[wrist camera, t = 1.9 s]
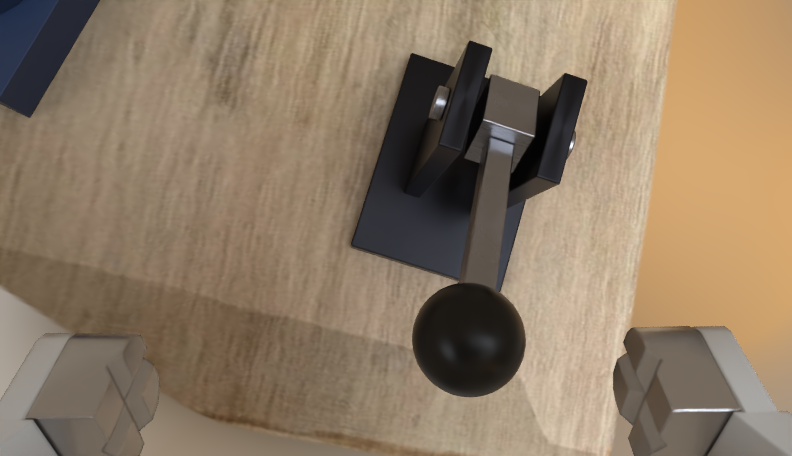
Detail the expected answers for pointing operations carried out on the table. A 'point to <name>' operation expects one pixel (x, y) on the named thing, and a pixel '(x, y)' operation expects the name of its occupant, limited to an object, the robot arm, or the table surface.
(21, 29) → the stop box
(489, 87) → the lever
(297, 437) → the table surface
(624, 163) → the table surface
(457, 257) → the switch bracket
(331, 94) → the table surface
